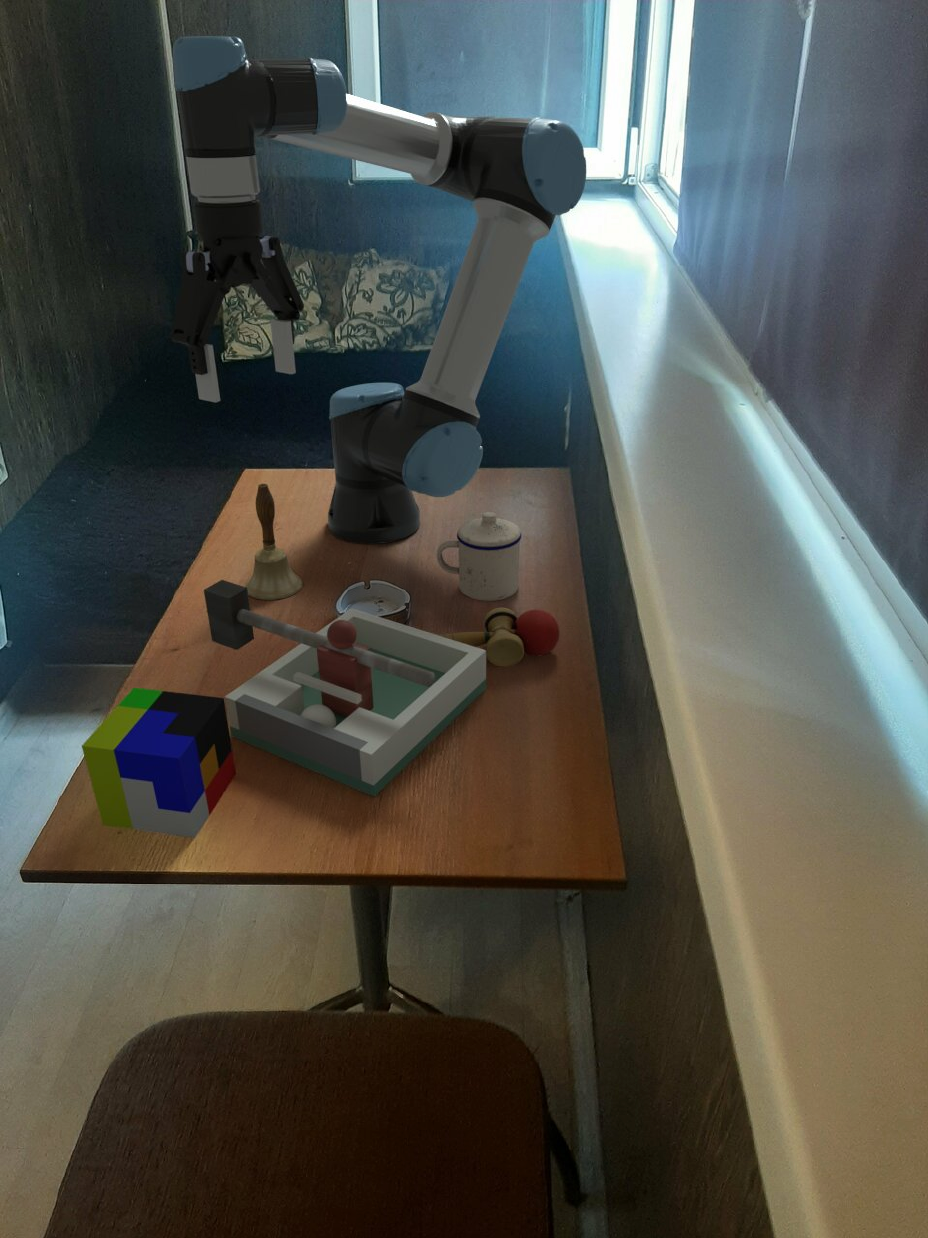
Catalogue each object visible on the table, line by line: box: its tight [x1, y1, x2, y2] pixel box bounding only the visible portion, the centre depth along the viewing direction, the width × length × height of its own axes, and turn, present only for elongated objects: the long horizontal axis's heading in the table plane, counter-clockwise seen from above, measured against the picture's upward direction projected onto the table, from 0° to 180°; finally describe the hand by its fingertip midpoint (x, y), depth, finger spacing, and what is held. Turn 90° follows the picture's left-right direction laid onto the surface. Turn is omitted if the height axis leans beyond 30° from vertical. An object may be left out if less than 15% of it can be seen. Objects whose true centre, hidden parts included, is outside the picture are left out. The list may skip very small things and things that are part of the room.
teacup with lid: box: [436, 511, 522, 602], centre depth 135 cm, size 12×9×12 cm
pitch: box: [224, 608, 487, 797], centre depth 109 cm, size 23×20×7 cm
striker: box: [203, 579, 435, 717], centre depth 107 cm, size 3×30×11 cm, turn 59°
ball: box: [301, 704, 336, 729], centre depth 104 cm, size 4×4×4 cm
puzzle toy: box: [81, 687, 237, 839], centre depth 96 cm, size 10×10×10 cm
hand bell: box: [244, 483, 303, 601], centre depth 134 cm, size 8×8×16 cm
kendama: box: [437, 607, 560, 667], centre depth 121 cm, size 8×6×18 cm
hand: (249, 385), depth 116 cm, fingers open, 13 cm apart
